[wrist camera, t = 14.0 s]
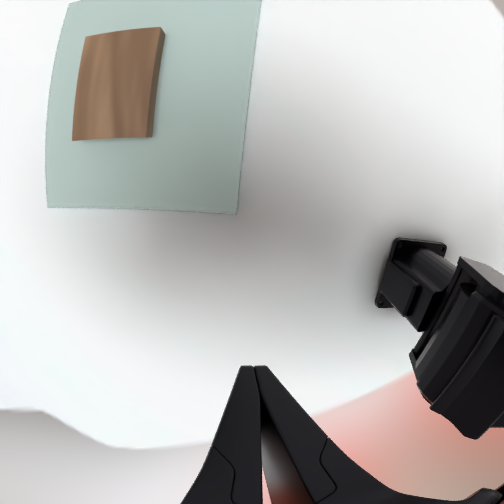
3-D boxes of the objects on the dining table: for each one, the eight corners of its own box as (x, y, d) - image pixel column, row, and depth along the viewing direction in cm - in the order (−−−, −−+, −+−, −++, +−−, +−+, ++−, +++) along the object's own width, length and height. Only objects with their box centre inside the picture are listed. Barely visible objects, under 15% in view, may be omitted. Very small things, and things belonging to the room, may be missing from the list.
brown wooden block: (160, 26, 11) (85, 36, 11) (146, 137, 14) (71, 141, 13) (165, 35, 13) (95, 42, 12) (152, 137, 15) (83, 140, 15)
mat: (261, -7, 12) (262, -11, 12) (236, 211, 19) (236, 214, 18) (72, 6, 10) (69, 3, 10) (51, 205, 17) (47, 207, 16)
